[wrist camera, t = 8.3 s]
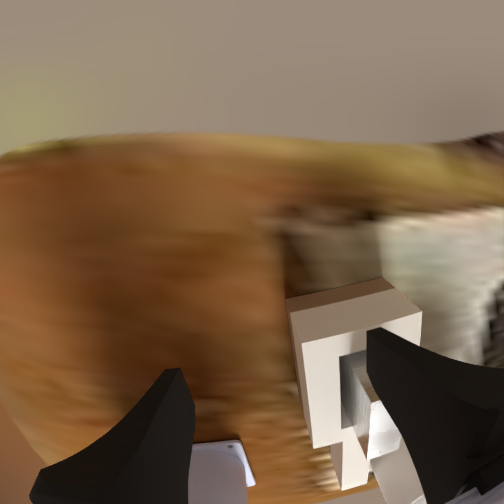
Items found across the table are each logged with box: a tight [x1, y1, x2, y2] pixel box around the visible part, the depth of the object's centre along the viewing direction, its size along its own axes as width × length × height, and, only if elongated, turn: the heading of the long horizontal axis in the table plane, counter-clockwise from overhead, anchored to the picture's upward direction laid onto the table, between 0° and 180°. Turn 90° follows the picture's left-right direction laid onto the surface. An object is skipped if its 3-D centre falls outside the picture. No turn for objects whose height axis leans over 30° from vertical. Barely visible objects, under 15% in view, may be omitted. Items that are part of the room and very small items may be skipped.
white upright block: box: [339, 349, 401, 460], centre depth 17 cm, size 2×5×7 cm, turn 11°
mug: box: [370, 436, 427, 504], centre depth 21 cm, size 12×8×10 cm
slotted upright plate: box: [285, 277, 422, 491], centre depth 21 cm, size 7×18×6 cm, turn 10°
